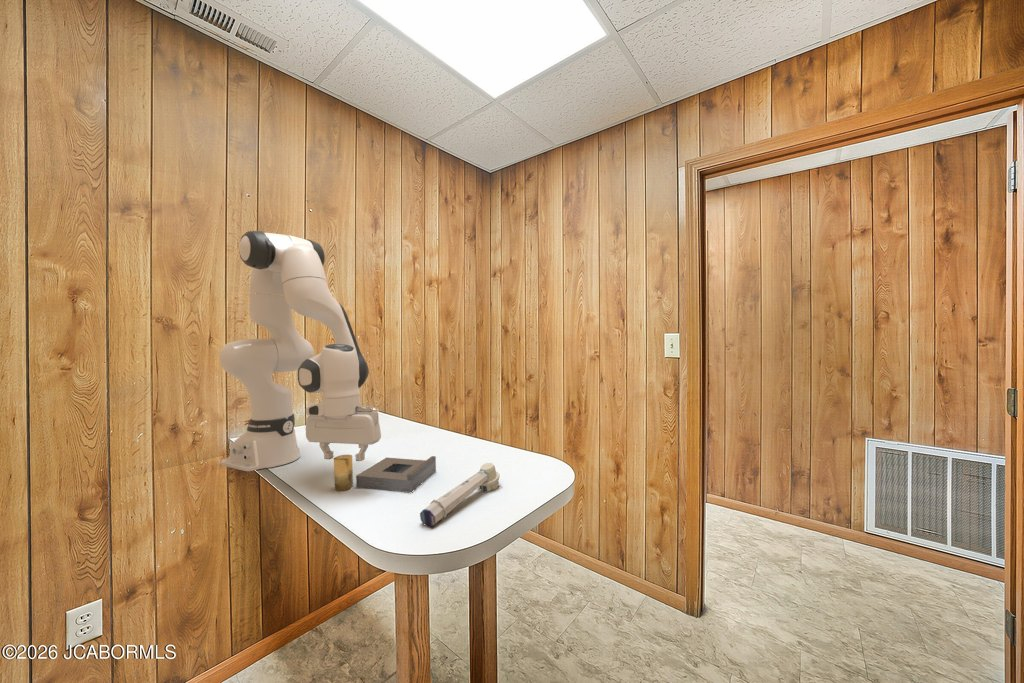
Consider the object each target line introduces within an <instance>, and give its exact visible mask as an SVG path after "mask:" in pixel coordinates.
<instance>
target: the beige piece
mask: <svg viewBox="0 0 1024 683" xmlns="http://www.w3.org/2000/svg"><path fill="white" fill-rule="evenodd" d="M499 480H500V473H499V472H498V471H497V469H496V467H495V464H493V463H492V462H487V463H486V462H485V463H483V464H482V465H481V466H480V469H479V471H478V472H476V473H474V474H473V475H472V476H470V477H469V478H467V479H465V480H463V482H461V483H459V484H458V485H456V486H455V487H454V488H452V489H451V490H449V491H447V492H446V493H445V494H443V495H442V496H440V497H439V498H437V499H433V500H432V501H431V502H430V504H429V505H428V506H426V507H425V508H424V509H422V511H420V513H419V517H420V521H421V523H422V524H423V525H424V524H425V525H424V526H426V525H427V526H426V527H430V528H432V527H433V526H435V525H436V524H437V523H439V521H443V520H444V519H445V518H446V517H447V515H448V514H449V513H450V512H451V511H453V510H454V509H455V508H456V507H458V506H459V505H460V503H462V502H464V500H465V499H467V498H468V497H469V496H470V495H471V494H473V493H474V492H475V491H476V490H477V489H478V488H479V490H480V489H481V490H482V491H481V490H480V491H481V492H485V491H486V492H491V491H493V490H494V491H495V490H497V489H498V488H499V484H500V483H499V482H500V481H499Z"/></svg>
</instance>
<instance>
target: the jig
mask: <svg viewBox="0 0 1024 683" xmlns="http://www.w3.org/2000/svg"><path fill="white" fill-rule="evenodd" d="M436 457H437V456H435V455H434V456H433V455H432V456H430V457H429V458H427V459H412V458H411V459H410V458H398V457H385V458H383V459H381V460H380V461H379V462H377V463H375V464H374V465H372V466H370V467H368V468H366V469H364V470H363V471H362V472H360V473H358V474H356V475H355V483H356V486H355V487H356V488H363V489H364V488H365V489H372V488H373V490H374V489H375V490H382V489H383V491H384V490H385V491H392V490H393V492H402V491H404V492H403V493H413V492H414V491H415V490H416V489H418V488H419V487H420V486H421V485H422V484H423V483H425V482H426V481H427V480H428V479H429V478H430V477H431V476H432V475H434V474H435V473H436V472H437V462H436V460H437V458H436ZM435 471H436V472H435ZM434 472H435V473H434ZM433 473H434V474H433ZM429 476H430V477H429ZM428 477H429V478H428ZM427 478H428V479H427ZM426 479H427V480H426ZM425 480H426V481H425ZM422 482H423V483H422ZM421 483H422V484H421ZM420 484H421V485H420ZM419 485H420V486H419ZM418 486H419V487H418ZM413 490H414V491H413ZM405 491H406V492H405ZM412 491H413V492H412Z"/></svg>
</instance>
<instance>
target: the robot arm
mask: <svg viewBox="0 0 1024 683" xmlns="http://www.w3.org/2000/svg"><path fill="white" fill-rule="evenodd" d="M238 251H239V257H240V259H241V261H242V262H243V263H244V264H245V265H246V266H247V267H250V268H252V269H251V272H250V277H249V278H250V279H249V287H248V288H249V290H248V296H249V297H248V298H249V300H248V301H249V309H248V310H249V311H248V314H249V318H250V319H251V321H252V322H253V323H254V324H256V325H258V326H260V327H262V328H264V329H266V330H268V332H269V336H270V337H269V338H246V339H241V340H234V341H230V342H227V343H226V344H225V345H223V347H222V349H221V350H220V353H219V355H218V356H219V364H220V367H221V368H222V369H223V370H224V371H225V372H226V373H227V374H229V375H231V376H233V377H235V378H236V380H239V382H241V384H242V385H243V386H244V388H245V389H246V391H247V393H248V398H249V402H250V403H249V404H250V413H251V414H250V415H251V418H250V419H248V420H245V421H244V424H243V425H244V426H247V427H246V428H247V429H246V431H245V432H244V433H242V434H241V435H240V436H239V437H238V438H237V439H235V440H234V441H233V442H231V444H230V447H229V456H228V457H226V458H223V459H222V460H221V461H219V465H220V466H223V467H227V468H231V469H236V470H240V471H244V472H251V471H256V470H262V469H268V468H269V469H270V468H274V467H279V466H283V465H287V464H289V463H291V462H295V461H296V460H298V459H299V458H300V457H301V453H300V449H299V447H298V443H297V434H296V431H295V430H296V429H295V426H296V425H295V424H296V423H295V422H296V421H295V420H296V417H295V414H294V412H293V409H294V408H293V392H292V391H291V389H290V388H289V387H287V386H285V385H283V384H281V383H278V382H275V381H274V379H273V377H272V374H274V373H287V372H295V371H297V382H298V386H300V388H302V389H303V390H304V391H305V392H306V393H308V394H311V393H312V394H319V393H322V401H320V402H318V403H315V404H312V405H310V406H309V405H308V406H307V407H306V408H305V414H306V415H307V417H306V420H305V438H306V440H307V441H308V443H319V448H320V449H321V452H322V453H323V459H324V460H331V459H334V458H335V457H334V456H335V455H334V450H331V448H330V446H329V445H330V444H344V445H345V444H346V445H358V449H359V451H358V453H356V454H355V461H356V462H363V461H364V460H366V457H365V456H366V455H365V454H366V452H367V450H368V447H369V446H371V445H374V444H377V443H378V442H379V441H381V437H382V433H381V426H380V420H379V412H378V411H377V409H375V408H374V407H372V406H371V407H370V406H367V407H364V406H361V404H362V403H361V391H360V388H361V387H363V385H364V384H365V382H366V381H367V379H368V377H369V374H370V372H369V371H370V370H369V365H368V362H367V360H366V359H365V357H364V355H363V354H362V352H361V349H360V348H359V344H358V341H357V338H356V336H355V333H354V329H353V328H352V325H351V322H350V319H349V317H348V315H347V312H346V310H345V308H344V306H343V305H342V304H341V303H340V302H338V301H337V300H336V298H335V297H334V296H333V294H332V291H331V290H330V288H329V285H328V280H327V277H326V276H327V275H326V272H325V268H324V265H325V260H326V256H325V251H324V249H323V247H322V246H321V244H320V243H318V242H317V241H313V240H312V239H305V238H301V237H298V236H294V235H290V234H281V233H274V232H263V231H261V230H249V231H246V232H245V233H244V234H243V235H242V236H241V238H240V240H239V245H238ZM293 311H294V312H296V313H298V314H299V315H300V316H303V317H306V318H308V319H311V320H315V321H316V322H319V323H321V324H323V325H324V326H326V327H327V328H328V329H329V330H330V332H331V333H332V335H333V339H334V341H335V343H331V344H327V345H324V346H323V347H322V349H321V352H320V353H318V354H316V355H315V350H314V346H313V345H312V344H311V342H310V341H308V340H307V339H306V338H305V337H303V336H302V335H301V334H300V332H299V331H298V330H297V328H296V326H295V322H294V319H293Z"/></svg>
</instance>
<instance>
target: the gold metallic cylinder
mask: <svg viewBox="0 0 1024 683" xmlns="http://www.w3.org/2000/svg"><path fill="white" fill-rule="evenodd" d="M353 468H354V466H353V455H351V454H341V455H337V456H335V457H333V476H334V478H333V480H334V491H336V492H346V491H349V490H352V488H354V472H353V471H354V470H353Z"/></svg>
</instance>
